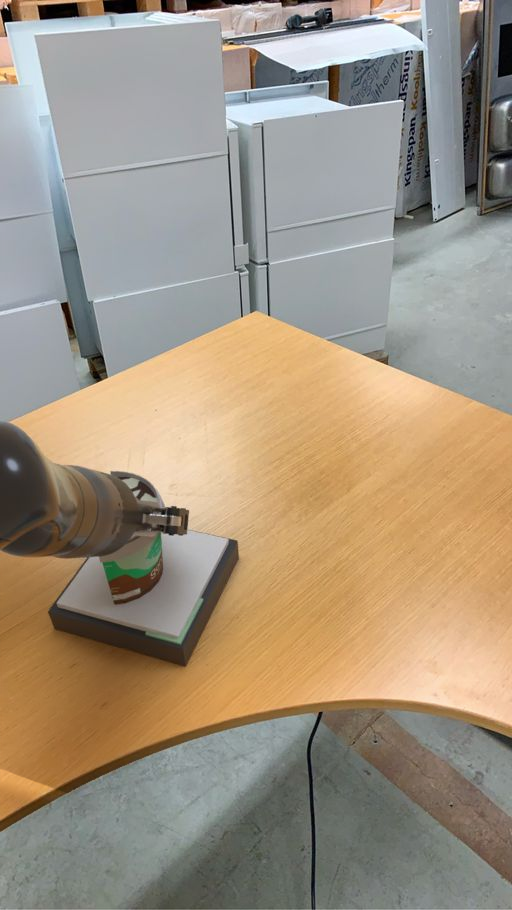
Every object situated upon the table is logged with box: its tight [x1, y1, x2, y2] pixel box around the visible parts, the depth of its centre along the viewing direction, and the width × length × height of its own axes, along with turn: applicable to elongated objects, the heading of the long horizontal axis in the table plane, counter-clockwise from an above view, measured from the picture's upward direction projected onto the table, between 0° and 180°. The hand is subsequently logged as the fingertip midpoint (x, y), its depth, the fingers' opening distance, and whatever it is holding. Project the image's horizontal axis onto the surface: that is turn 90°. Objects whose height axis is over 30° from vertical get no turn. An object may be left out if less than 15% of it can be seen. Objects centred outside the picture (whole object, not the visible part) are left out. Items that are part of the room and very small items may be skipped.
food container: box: [99, 470, 166, 605], centre depth 70 cm, size 12×6×10 cm, turn 4°
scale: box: [47, 528, 240, 667], centre depth 75 cm, size 16×16×4 cm
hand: (140, 518), depth 71 cm, fingers closed on food container, 6 cm apart
